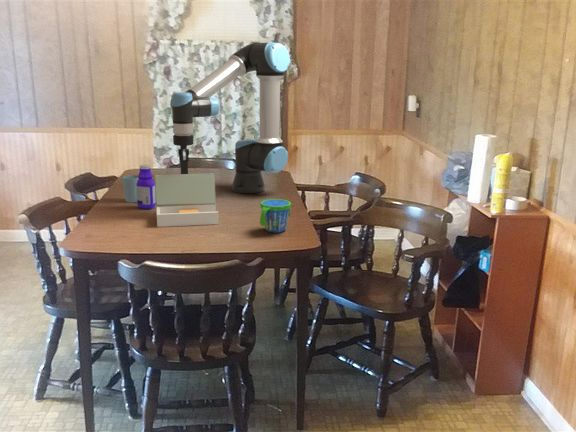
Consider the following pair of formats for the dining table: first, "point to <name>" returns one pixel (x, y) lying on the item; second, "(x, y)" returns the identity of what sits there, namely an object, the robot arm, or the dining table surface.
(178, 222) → the grey rectangular box
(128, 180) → the cup
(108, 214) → the dining table surface
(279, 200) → the snack cup
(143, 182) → the bottle
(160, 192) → the cover
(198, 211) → the orange rectangular block
